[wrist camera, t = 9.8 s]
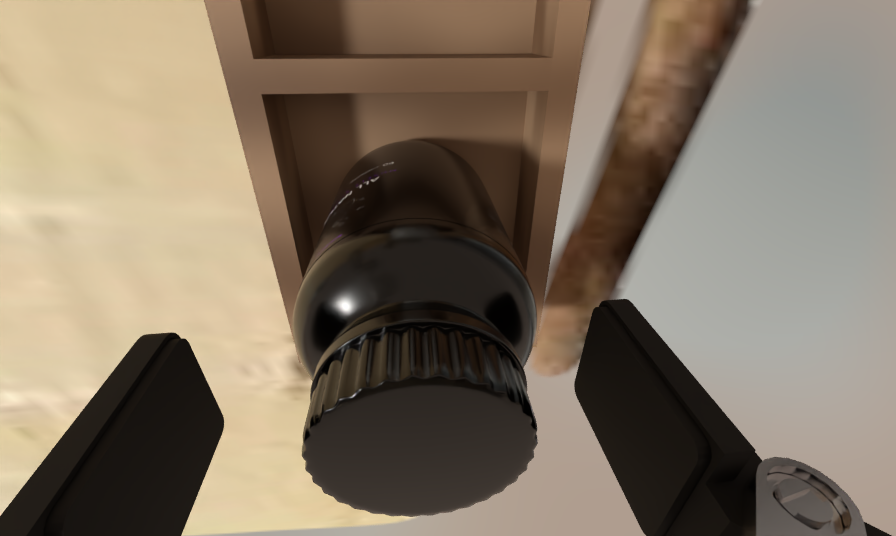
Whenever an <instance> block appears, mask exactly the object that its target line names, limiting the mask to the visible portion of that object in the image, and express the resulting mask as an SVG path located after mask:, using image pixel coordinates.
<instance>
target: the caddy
mask: <svg viewBox="0 0 896 536" xmlns="http://www.w3.org/2000/svg"><path fill="white" fill-rule="evenodd" d="M204 2H205V6H206V10H207V13H208V17H209V21H210V25H211V29H212V32H213V36H214V40H215V44H216V48H217V51H218V55H219V59H220V63H221V67H222V70H223V74H224V78H225V82H226V85H227V89H228V93H229V97H230V101H231V104H232V108H233V112H234V116H235V120H236V123H237V127H238V131H239V135H240V139H241V142H242V146H243V150H244V154H245V158H246V161H247V165H248V169H249V173H250V176H251V180H252V184H253V188H254V192H255V195H256V199H257V203H258V207H259V211H260V214H261V218H262V222H263V226H264V230H265V233H266V237H267V241H268V245H269V249H270V252H271V256H272V260H273V264H274V268H275V271H276V275H277V279H278V283H279V286H280V290H281V294H282V298H283V302H284V305H285V309H286V313H287V317H288V321H289V324H290V328H291V332H292V336H293V311H294V306H295V303H296V299H297V295H298V292H299V288H300V286H301V283H302V281H303V278H304V275H305V273H306V270H307V268H308V265H309V263H310V260H311V258H312V255H313V253H314V250H315V248H316V245H317V242H318V240H319V237H320V235H321V232H322V230H323V227H324V225H325V222H326V220H327V217H328V215H329V212H330V209H331V207H332V204H333V202H334V199H335V197H336V194H337V192H338V190H339V188H340V185H341V183H342V181H343V180H344V178H345V176H346V175H347V173H348V172H349V171H350V169H351V168H352V167H353V166H354V165H355V163H357V162H358V161H359V160H360V159H361V158H362V157H364V156H365V155H366V154H368V153H369V152H371V151H373V150H374V149H377V148H379V147H381V146H384V145H387V144H390V143H394V142H399V141H425V142H430V143H434V144H437V145H440V146H443V147H445V148H447V149H449V150H451V151H453V152H455V153H456V154H458V155H459V156H461V157H462V158H463V159H464V160H465V161H466V162H467V163H468V164H469V165H470V166H471V167H472V168H473V169H474V170H475V172H476V173H477V174H478V176H479V177H480V179H481V181H482V183H483V184H484V186H485V188H486V190H487V192H488V194H489V196H490V198H491V200H492V203H493V205H494V207H495V209H496V211H497V213H498V215H499V218H500V220H501V222H502V224H503V226H504V228H505V230H506V233H507V235H508V237H509V239H510V241H511V243H512V245H513V247H514V250H515V252H516V254H517V256H518V258H519V260H520V262H521V265H522V267H523V269H524V271H525V273H526V275H527V278H528V280H529V283H530V286H531V289H532V291H533V294H534V298H535V302H536V308H537V330H536V336H535V340H534V344H533V347H537V341H538V334H539V328H540V322H541V315H542V309H543V303H544V296H545V290H546V283H547V277H548V271H549V264H550V258H551V252H552V245H553V239H554V233H555V226H556V219H557V213H558V207H559V201H560V194H561V188H562V182H563V174H564V169H565V162H566V156H567V149H568V143H569V137H570V131H571V124H572V118H573V112H574V105H575V99H576V93H577V86H578V80H579V73H580V67H581V61H582V54H583V48H584V42H585V35H586V29H587V23H588V16H589V10H590V3H591V0H204ZM293 340H294V338H293ZM296 351H297V350H296ZM297 355H298V354H297ZM298 359H299V356H298ZM299 362H300V363H301V361H300V359H299Z"/></svg>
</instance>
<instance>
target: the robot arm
mask: <svg viewBox="0 0 896 536" xmlns="http://www.w3.org/2000/svg"><path fill="white" fill-rule="evenodd" d="M575 392H576V396H577V398H578V400H579V402H580V404H581V406H582V409H583V411H584V413H585V415H586V417H587V419H588V421H589V423H590V425H591V427H592V429H593V431H594V433H595V435H596V437H597V439H598V441H599V443H600V445H601V447H602V450H603V452H604V454H605V456H606V458H607V460H608V462H609V464H610V466H611V468H612V470H613V472H614V474H615V476H616V478H617V480H618V482H619V484H620V486H621V488H622V490H623V492H624V495H625V497H626V499H627V501H628V503H629V504H630V507H631V509H632V511H633V513H634V515H635V517H636V519H637V521H638V523H639V525H640V527H641V529H642V531H643V532H644V534H645V535H646V536H891V535H889V534H887V533H885V532H883V531H881V530H879V529H877V528H875V527H873V526H871V525H869V524H867V523H865V522H864V521H863V519H862V516H861V514H860V512H859V509H858V508H857V506H856V505H855V504H854V502H853V501H852V500H851V498H850V497H849V496H848V494H847V493H846V492H844V491H843V490H842V489H841V488H840V487H839V486H838V485H837V484H836V483H835V482H834V481H832V480H831V479H829V478H828V477H827V476H825V475H824V474H823V473H821V472H820V471H818V470H816V469H814V468H812V467H810V466H808V465H806V464H804V463H802V462H799V461H796V460H792V459H789V458H781V457H773V458H769V459H765V460H764V461H762V460H761V459H760V457H759V456H758V455H757V454H756V453H755V449H754V448H753V447H752V445H751V444H750V443H749V442H748V441H747V439H746V438H745V437H744V436H743V435H742V434H741V432H740V431H739V430H738V429H737V428H736V426H735V425H734V424H733V423H732V422H731V420H730V419H729V418H728V417H727V416H726V414H725V413H724V412H723V411H722V410H721V408H720V407H719V406H718V405H717V404H716V403H715V401H714V400H713V399H712V398H711V397H710V395H709V394H708V393H707V392H706V391H705V389H704V388H703V387H702V386H701V385H700V384H699V382H698V381H697V380H696V379H695V378H694V376H693V375H692V374H691V373H690V372H689V370H688V369H687V368H686V367H685V366H684V364H683V363H682V362H681V361H680V360H679V358H678V357H677V356H676V355H675V354H674V353H673V351H672V350H671V349H670V348H669V347H668V345H667V344H666V343H665V342H664V341H663V340H662V338H661V337H660V336H659V335H658V334H657V332H656V331H655V330H654V329H653V328H652V326H651V325H650V324H649V323H648V322H647V320H646V319H645V318H644V317H643V316H642V315H641V313H640V312H639V311H638V310H637V309H636V307H635V306H634V305H633V304H632V303H631V302H630V301H629V300H627V299H619V300H606V301H602V302H601V303H600V305H599V307H596V308H594V310H593V313H592V317H591V320H590V324H589V328H588V332H587V336H586V340H585V344H584V348H583V352H582V356H581V359H580V363H579V367H578V371H577V375H576V379H575ZM223 428H224V418H223V415H222V413H221V410H220V408H219V406H218V404H217V402H216V400H215V398H214V396H213V393H212V391H211V389H210V387H209V385H208V383H207V381H206V378H205V376H204V374H203V372H202V370H201V368H200V366H199V364H198V361H197V359H196V357H195V355H194V353H193V351H192V349H191V346H190V344H189V342H188V341H187V340H186V339H181V338H180V337H179V335H177V334H176V333H160V334H147V335H143V336H141V337H140V338H139V339H138V340H137V341H136V343H135V344H134V345H133V346H132V348H131V349H130V350H129V352H128V353H127V354H126V355H125V357H124V358H123V359H122V361H121V362H120V363H119V364H118V366H117V367H116V368H115V370H114V371H113V372H112V373H111V375H110V376H109V377H108V379H107V380H106V381H105V382H104V384H103V385H102V386H101V388H100V389H99V390H98V391H97V393H96V394H95V395H94V397H93V398H92V399H91V400H90V402H89V403H88V404H87V405H86V407H85V408H84V409H83V411H82V412H81V413H80V414H79V416H78V417H77V418H76V420H75V421H74V422H73V423H72V425H71V426H70V427H69V429H68V430H67V431H66V432H65V434H64V435H63V436H62V438H61V439H60V440H59V441H58V443H57V444H56V445H55V447H54V448H53V449H52V450H51V452H50V453H49V454H48V456H47V457H46V458H45V459H44V461H43V462H42V463H41V465H40V466H39V467H38V468H37V470H36V471H35V472H34V474H33V475H32V476H31V477H30V479H29V480H28V481H27V483H26V484H25V485H24V486H23V488H22V489H21V490H20V491H19V493H18V494H17V495H16V497H15V498H14V499H13V500H12V502H11V503H10V504H9V506H8V507H7V508H6V509H5V511H4V512H3V513H2V515H1V516H0V536H181V534H182V532H183V529H184V527H185V524H186V522H187V520H188V517H189V515H190V512H191V510H192V507H193V505H194V502H195V500H196V497H197V495H198V492H199V490H200V487H201V485H202V482H203V480H204V477H205V475H206V472H207V470H208V467H209V465H210V462H211V460H212V457H213V455H214V452H215V450H216V447H217V445H218V442H219V440H220V438H221V435H222V432H223Z"/></svg>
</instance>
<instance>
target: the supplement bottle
mask: <svg viewBox="0 0 896 536" xmlns="http://www.w3.org/2000/svg"><path fill="white" fill-rule="evenodd" d="M536 330H537V308H536V302H535V298H534V294H533V291H532V289H531V286H530V283H529V280H528V278H527V275H526V273H525V271H524V269H523V267H522V265H521V262H520V260H519V258H518V256H517V254H516V252H515V250H514V247H513V245H512V243H511V241H510V239H509V237H508V235H507V233H506V230H505V228H504V226H503V224H502V222H501V220H500V218H499V215H498V213H497V211H496V209H495V207H494V205H493V203H492V200H491V198H490V196H489V194H488V192H487V190H486V188H485V186H484V184H483V183H482V181H481V179H480V177H479V176H478V174H477V173H476V172H475V170H474V169H473V168H472V167H471V166H470V165H469V164H468V163H467V162H466V161H465V160H464V159H463V158H462V157H461V156H459V155H458V154H456V153H455V152H453V151H451V150H449V149H447V148H445V147H443V146H440V145H437V144H434V143H430V142H425V141H399V142H394V143H390V144H387V145H384V146H381V147H379V148H377V149H374V150H373V151H371V152H369V153H368V154H366V155H365V156H364V157H362V158H361V159H360V160H359V161H358V162H357V163H355V165H354V166H353V167H352V168H351V169H350V171H349V172H348V173H347V175H346V176H345V178H344V180H343V181H342V183H341V185H340V188H339V190H338V192H337V194H336V197H335V199H334V202H333V204H332V207H331V209H330V212H329V215H328V217H327V220H326V222H325V225H324V227H323V230H322V232H321V235H320V237H319V240H318V242H317V245H316V248H315V250H314V253H313V255H312V258H311V260H310V263H309V265H308V268H307V270H306V273H305V275H304V278H303V281H302V283H301V286H300V288H299V292H298V295H297V299H296V303H295V306H294V311H293V338H294V343H295V347H296V350H297V354H298V356H299V359H300V361H301V363H302V365H303V367H304V369H305V371H306V373H307V374H308V376H309V377H310V379H311V380H312V381H313V382H312V387H311V394H310V401H311V402H310V406H309V410H308V414H307V418H306V422H305V427H304V431H303V445H302V457H303V458H304V460H305V461H306V463H305V469H306V471H307V472H308V473H310V474H311V475H312V479H313V482H314V483H315V484H317V485H318V486H320V487H322V490H323V492H324V493H325V494H328V495H330V496H333V497H334V498H335V499H336V500H337V501H338V502H341V503H344V504H348V505H350V506H351V507H353V508H354V509H360V510H366V511H368V512H370V513H373V514H385V515H389V516H409V517H414V516H420V515H435V514H438V513H446V512H452V511H455V510H457V509H461V508H466V507H470V506H472V505H474V504H475V503H477V502H481V501H485V500H487V499H489V498H490V497H491V496H492V495H494V494H497V493H500V492H502V491H503V490H504V489H505V488H506V487H507V486H508V485H510V484H512V483H514V482H515V481H516V480H517V479H518V476H519V475H520V474H522V473H523V472H524V471H526V470H527V464H528V463H529V462H530V461H531V460H532V459H533V458H534V451H533V450H534V449H535V447H536V445H537V443H538V442H537V435H536V432H537V424H536V419H535V416H534V413H533V410H532V406H531V403H530V400H529V397H528V394H527V381H526V376H525V372H524V369H523V368H524V366H525V364H526V362H527V360H528V358H529V355H530V353H531V351H532V347H533V344H534V340H535V336H536Z"/></svg>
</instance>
